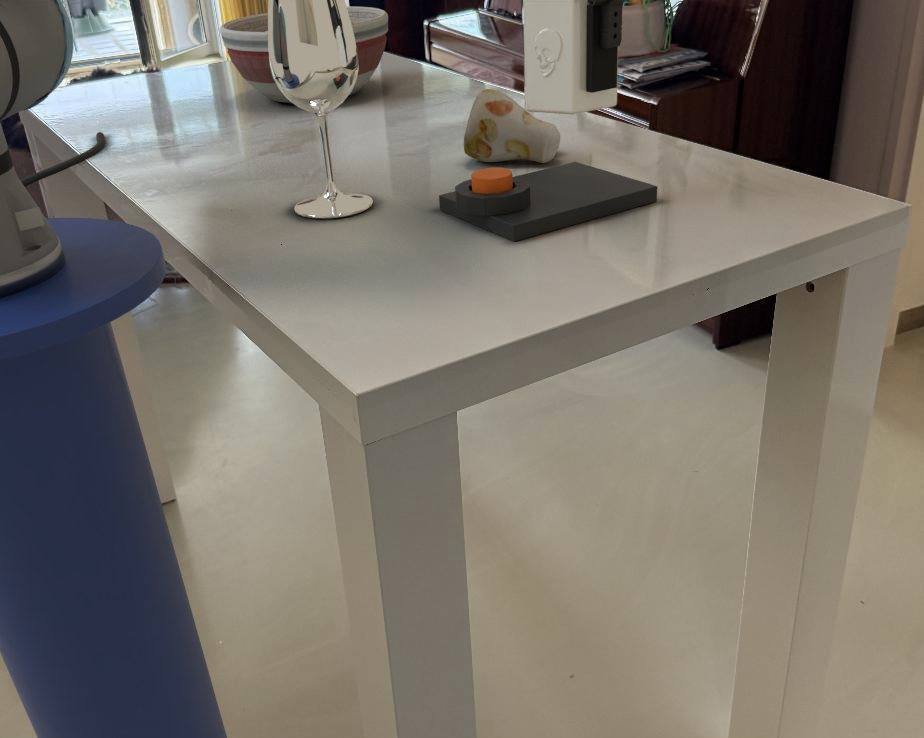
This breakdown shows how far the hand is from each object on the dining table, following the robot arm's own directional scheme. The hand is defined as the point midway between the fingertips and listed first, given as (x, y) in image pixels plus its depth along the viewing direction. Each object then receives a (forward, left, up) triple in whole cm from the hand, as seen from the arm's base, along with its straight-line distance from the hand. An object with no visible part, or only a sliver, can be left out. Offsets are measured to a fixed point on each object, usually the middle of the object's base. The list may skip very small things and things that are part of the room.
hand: (569, 82), depth 85 cm
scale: (0, -3, -10) cm, 11 cm away
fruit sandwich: (-15, +4, -10) cm, 19 cm away
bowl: (-64, +4, -10) cm, 65 cm away
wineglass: (-14, -18, -10) cm, 25 cm away
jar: (0, 0, -2) cm, 2 cm away
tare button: (0, -9, -8) cm, 12 cm away
